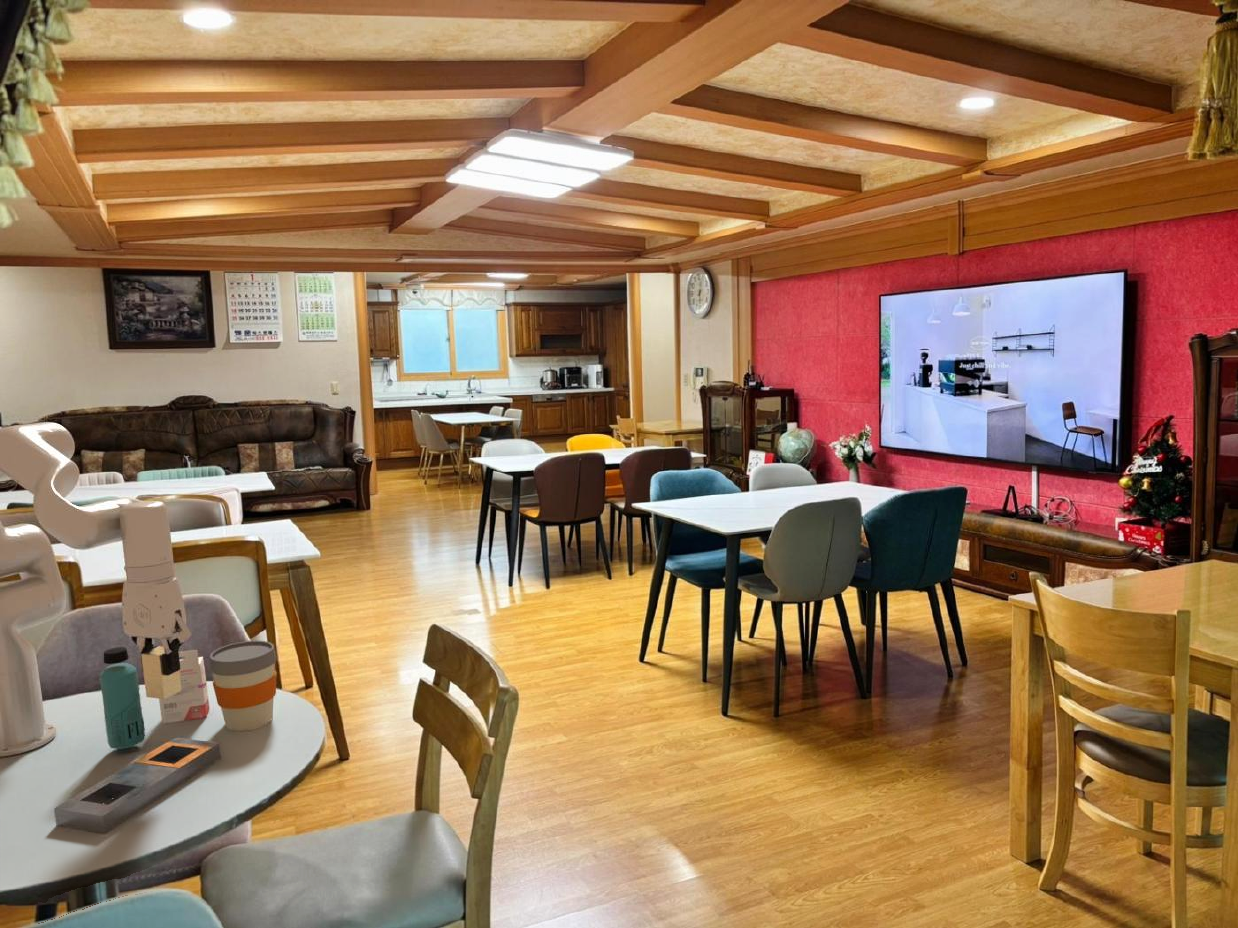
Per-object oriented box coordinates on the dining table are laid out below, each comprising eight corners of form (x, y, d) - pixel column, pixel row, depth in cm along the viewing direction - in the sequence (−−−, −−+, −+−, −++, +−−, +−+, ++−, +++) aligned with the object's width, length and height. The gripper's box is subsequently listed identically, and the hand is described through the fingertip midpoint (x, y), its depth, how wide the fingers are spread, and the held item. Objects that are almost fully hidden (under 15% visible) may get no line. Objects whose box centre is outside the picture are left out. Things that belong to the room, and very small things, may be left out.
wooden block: (146, 696, 159) (141, 653, 158) (164, 688, 163) (159, 646, 161) (164, 699, 158) (159, 655, 156) (181, 690, 161) (176, 647, 160)
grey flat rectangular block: (56, 825, 145) (53, 807, 145) (177, 752, 170) (176, 736, 169) (104, 833, 142) (102, 815, 142) (221, 757, 167) (219, 742, 166)
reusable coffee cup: (280, 728, 179) (273, 656, 176) (212, 739, 175) (204, 665, 173) (283, 704, 190) (277, 636, 188) (219, 713, 187) (212, 645, 185)
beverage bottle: (130, 757, 168) (117, 656, 165) (99, 755, 170) (86, 654, 167) (154, 742, 175) (143, 643, 172) (125, 740, 176) (113, 642, 173)
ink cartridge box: (210, 708, 190) (203, 642, 188) (206, 717, 185) (199, 649, 183) (165, 714, 187) (158, 647, 185) (161, 724, 183) (153, 655, 180)
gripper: (95, 575, 156) (107, 675, 158) (172, 580, 151) (183, 683, 153) (130, 564, 163) (141, 660, 166) (205, 568, 158) (215, 667, 161)
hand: (161, 670), depth 159 cm, fingers closed on wooden block, 4 cm apart
